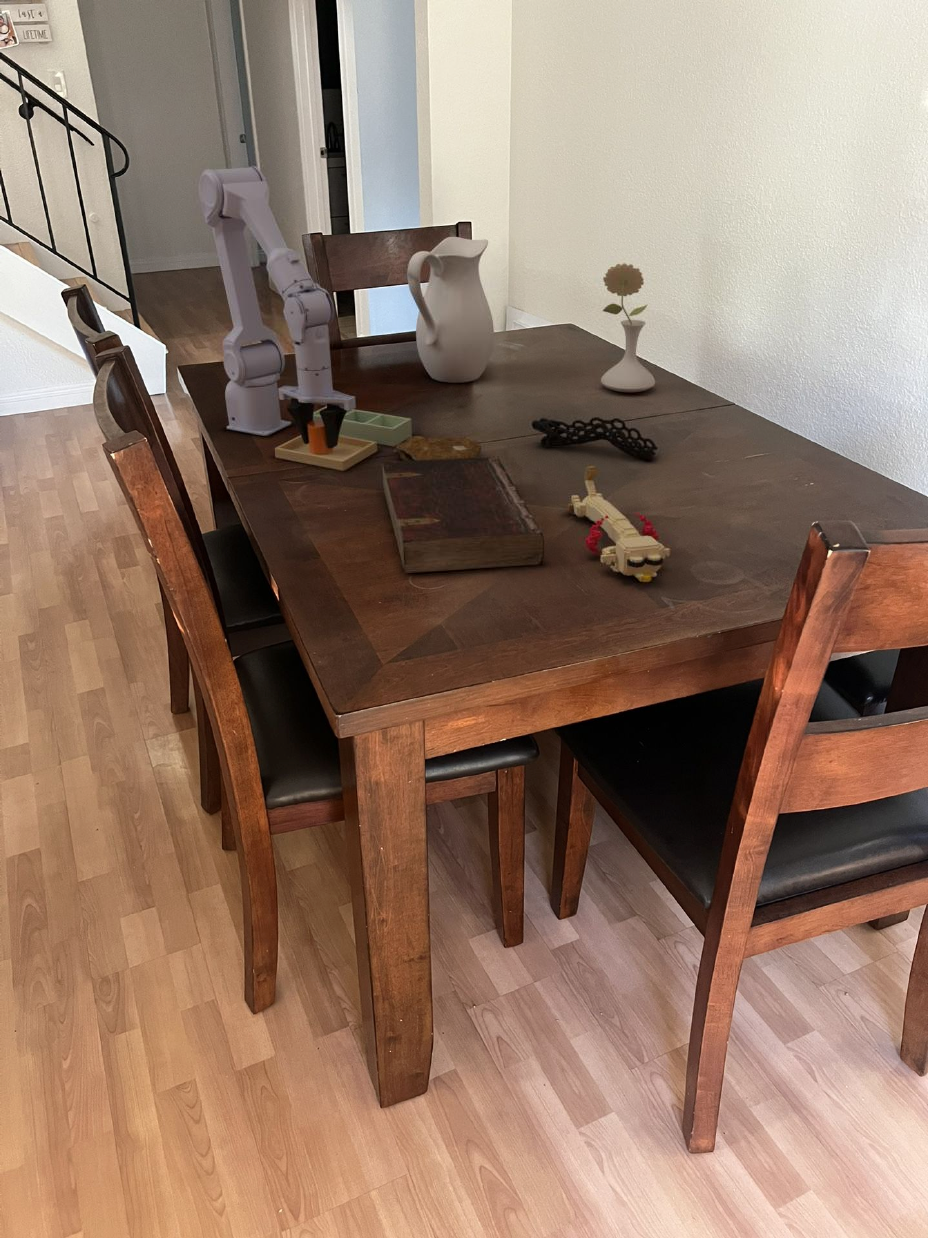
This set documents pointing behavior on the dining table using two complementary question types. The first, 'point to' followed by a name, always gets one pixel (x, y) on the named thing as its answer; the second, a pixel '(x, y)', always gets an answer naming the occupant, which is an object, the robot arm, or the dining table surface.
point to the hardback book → (459, 515)
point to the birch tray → (339, 458)
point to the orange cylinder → (317, 438)
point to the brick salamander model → (619, 535)
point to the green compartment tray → (373, 427)
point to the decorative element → (558, 440)
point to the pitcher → (452, 311)
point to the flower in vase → (627, 333)
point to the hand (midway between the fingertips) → (320, 444)
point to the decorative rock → (437, 448)
